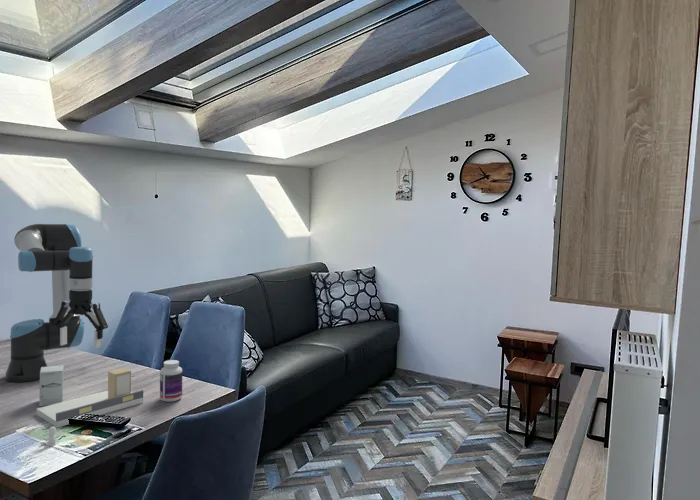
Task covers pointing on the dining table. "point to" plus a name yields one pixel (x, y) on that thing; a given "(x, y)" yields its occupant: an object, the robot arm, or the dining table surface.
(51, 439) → the figurine
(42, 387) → the supplement box
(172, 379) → the pill bottle
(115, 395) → the carton
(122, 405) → the shelf
